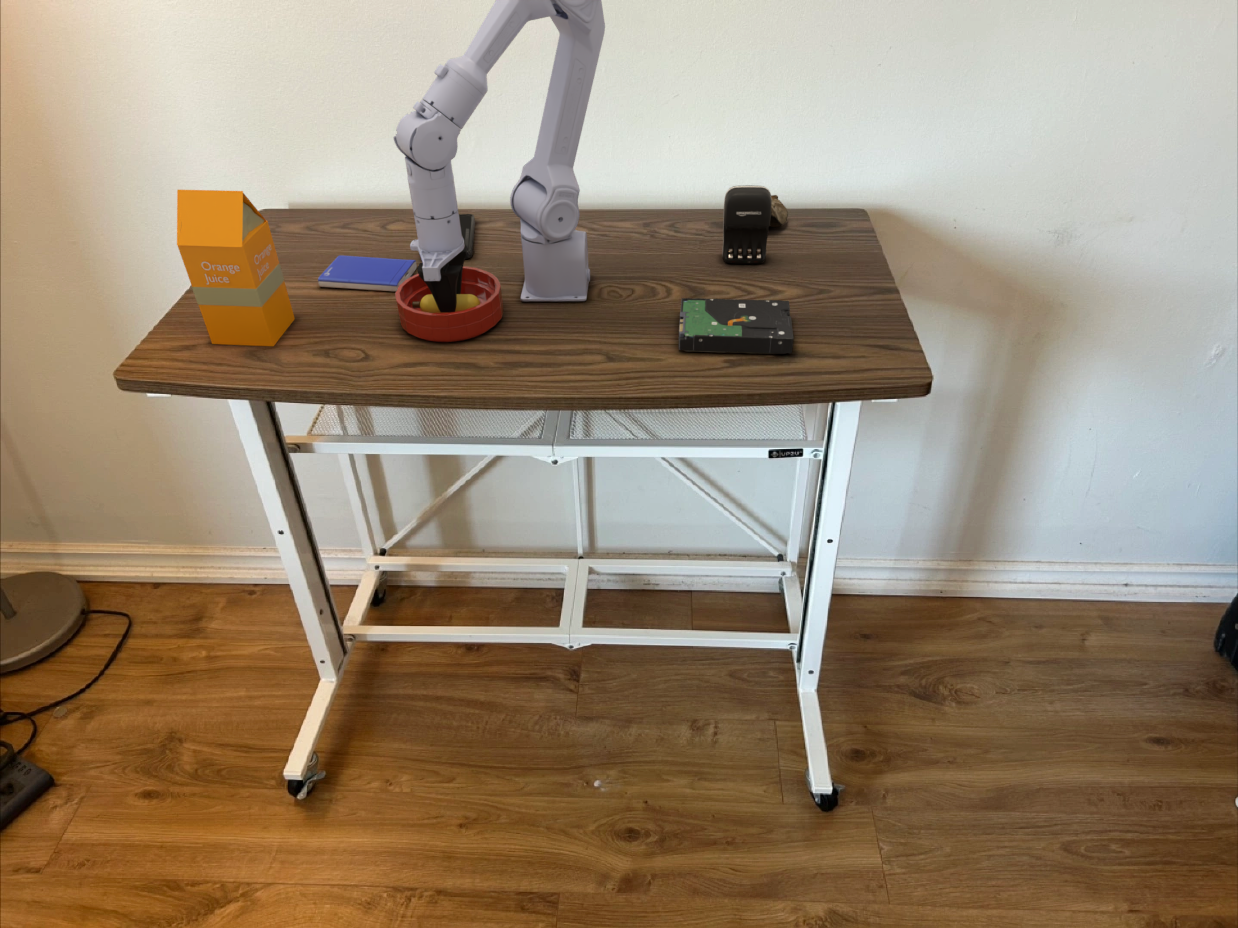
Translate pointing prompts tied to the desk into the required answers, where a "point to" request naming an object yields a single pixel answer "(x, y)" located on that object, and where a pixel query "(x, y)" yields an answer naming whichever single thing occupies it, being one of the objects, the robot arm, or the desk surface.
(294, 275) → the desk surface
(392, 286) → the blue book
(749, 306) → the disk drive
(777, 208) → the fossilized seashell
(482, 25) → the robot arm
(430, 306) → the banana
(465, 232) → the phone
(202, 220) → the orange juice
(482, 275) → the bowl
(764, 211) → the battery charger
